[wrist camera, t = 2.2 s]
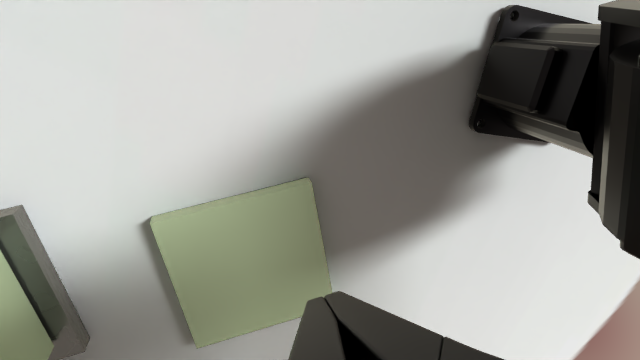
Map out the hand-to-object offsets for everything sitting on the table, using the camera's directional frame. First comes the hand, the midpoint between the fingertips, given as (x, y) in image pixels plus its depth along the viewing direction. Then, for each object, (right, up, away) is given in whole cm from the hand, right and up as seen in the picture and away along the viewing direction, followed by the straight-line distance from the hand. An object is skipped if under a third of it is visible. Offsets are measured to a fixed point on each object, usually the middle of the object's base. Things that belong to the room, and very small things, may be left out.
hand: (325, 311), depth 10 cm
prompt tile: (-4, -1, +13) cm, 13 cm away
